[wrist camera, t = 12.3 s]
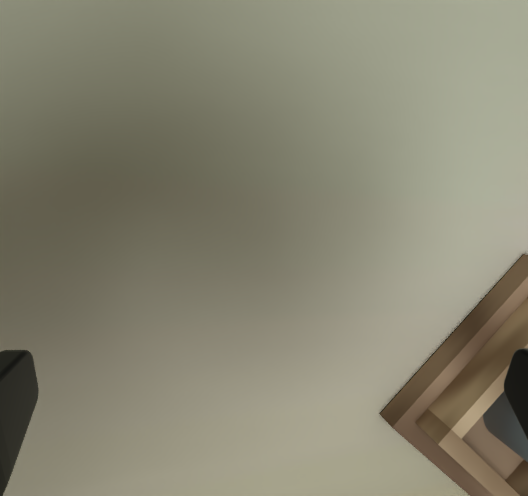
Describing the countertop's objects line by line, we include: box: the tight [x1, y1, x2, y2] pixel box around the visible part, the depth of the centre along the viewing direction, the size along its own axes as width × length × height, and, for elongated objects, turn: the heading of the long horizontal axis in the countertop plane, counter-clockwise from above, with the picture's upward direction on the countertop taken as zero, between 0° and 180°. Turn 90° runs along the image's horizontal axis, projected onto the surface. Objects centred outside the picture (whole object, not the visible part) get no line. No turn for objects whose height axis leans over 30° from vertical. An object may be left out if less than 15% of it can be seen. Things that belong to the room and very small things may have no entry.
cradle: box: [380, 254, 528, 496], centre depth 25 cm, size 12×12×3 cm
